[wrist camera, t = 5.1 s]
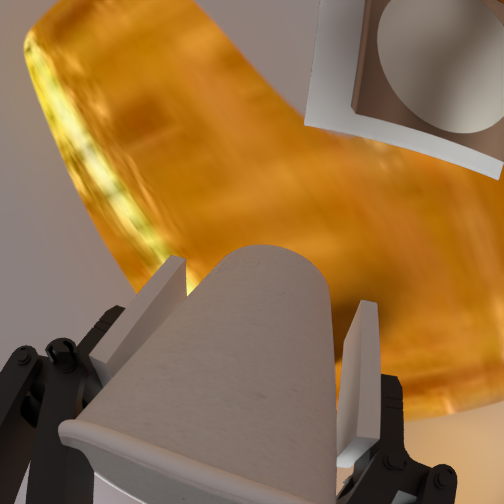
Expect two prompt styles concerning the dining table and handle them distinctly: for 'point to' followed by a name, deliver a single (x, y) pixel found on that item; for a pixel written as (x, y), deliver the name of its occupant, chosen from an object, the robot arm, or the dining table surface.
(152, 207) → the dining table surface
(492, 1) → the brown block
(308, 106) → the board
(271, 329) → the dixie cup
